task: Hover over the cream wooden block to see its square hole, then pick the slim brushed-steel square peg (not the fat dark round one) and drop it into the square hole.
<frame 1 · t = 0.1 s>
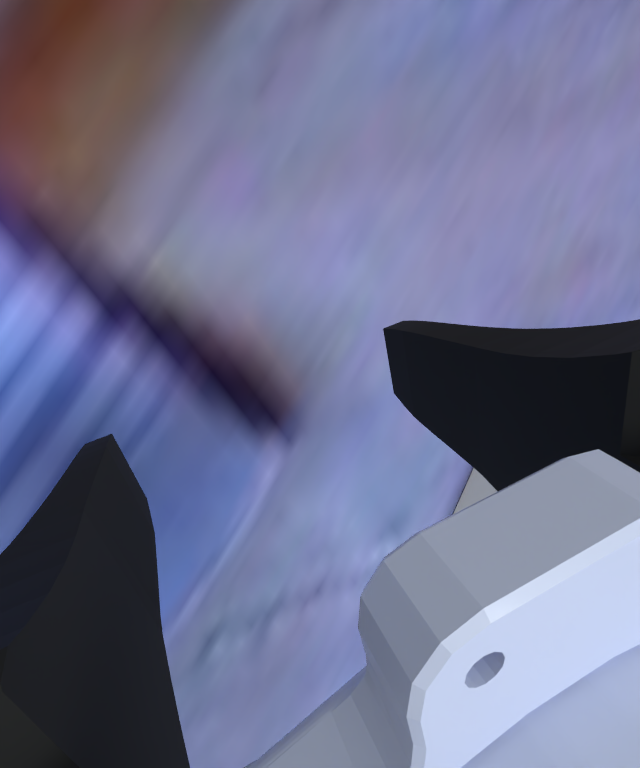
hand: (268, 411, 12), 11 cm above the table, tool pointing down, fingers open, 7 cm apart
cream socket block: (573, 517, 33), on the table
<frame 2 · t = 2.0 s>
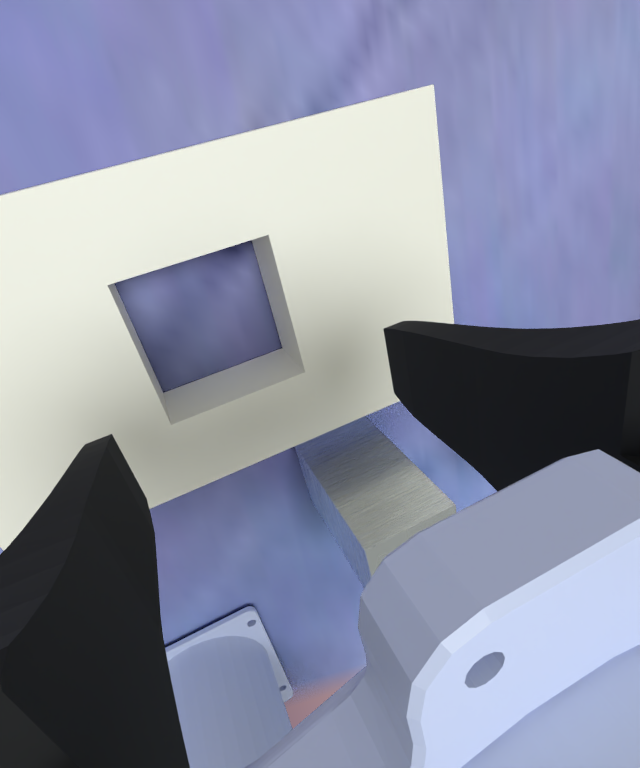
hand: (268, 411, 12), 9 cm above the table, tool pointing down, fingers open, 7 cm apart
square steel peg: (336, 457, 26), on the table
cream socket block: (203, 312, 20), on the table
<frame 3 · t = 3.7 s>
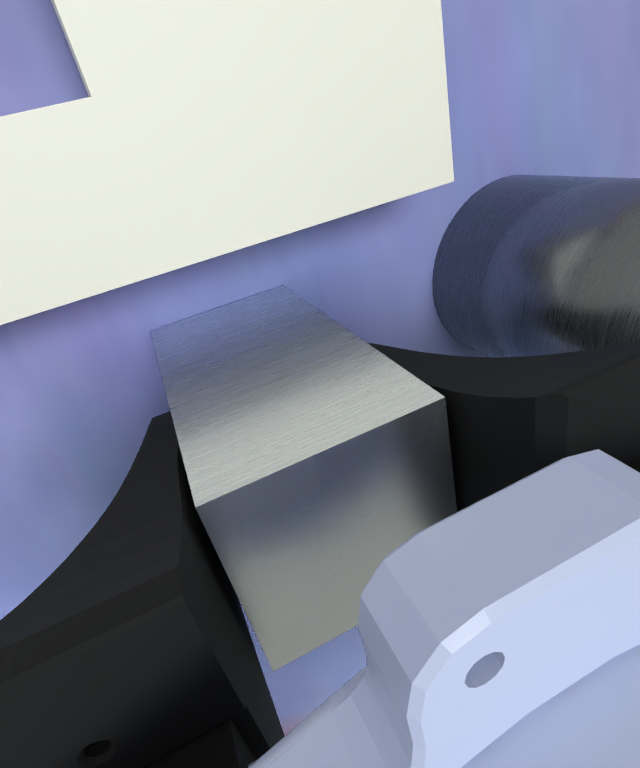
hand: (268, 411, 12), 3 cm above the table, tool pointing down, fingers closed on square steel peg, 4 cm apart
round dark peg: (504, 267, 17), on the table
square steel peg: (239, 367, 15), on the table, touching gripper
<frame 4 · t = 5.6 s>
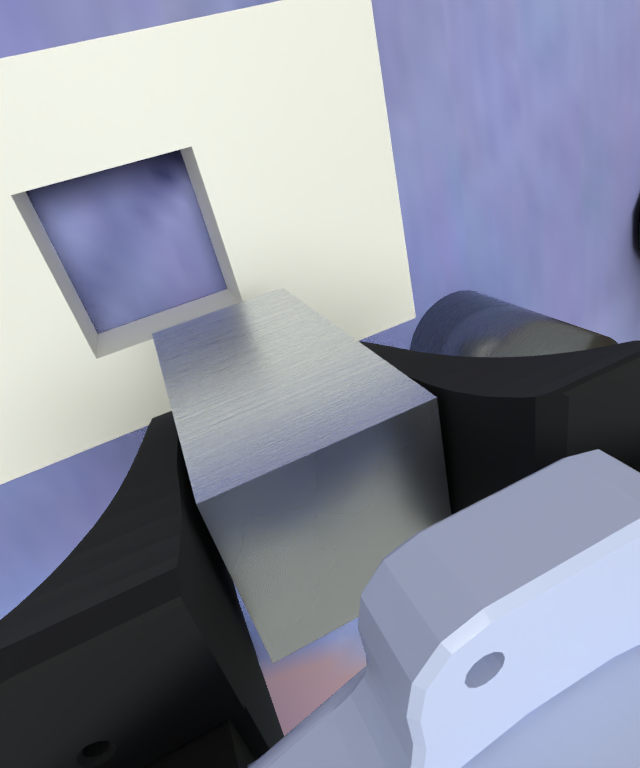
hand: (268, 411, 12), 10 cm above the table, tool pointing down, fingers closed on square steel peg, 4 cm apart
round dark peg: (456, 343, 27), on the table
square steel peg: (240, 368, 15), point 7 cm above the table, touching gripper
cream socket block: (137, 245, 19), on the table
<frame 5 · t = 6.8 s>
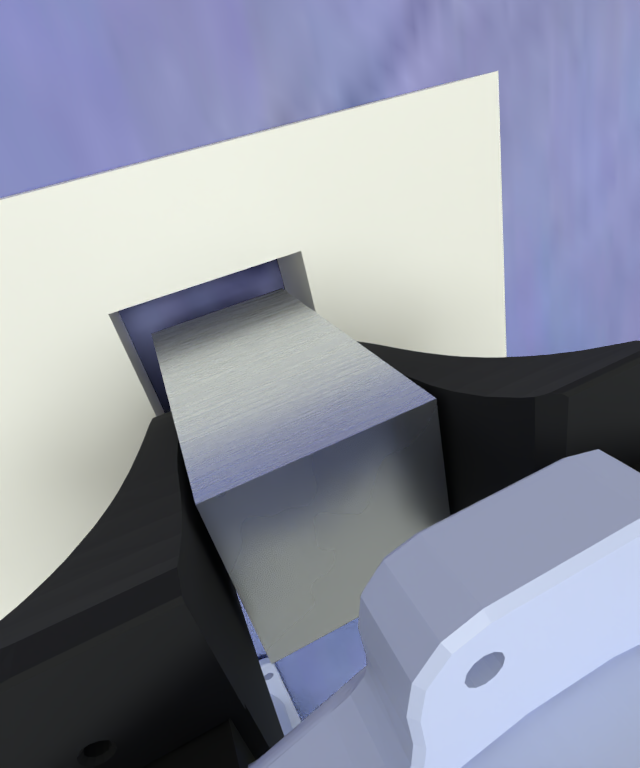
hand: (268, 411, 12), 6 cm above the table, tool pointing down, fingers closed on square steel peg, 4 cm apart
square steel peg: (239, 369, 15), point 3 cm above the table, touching gripper
cream socket block: (219, 337, 17), on the table
when the fingers open (4 cm above the table, at t = 7.7 s): square steel peg stays where it is, resting in cream socket block.
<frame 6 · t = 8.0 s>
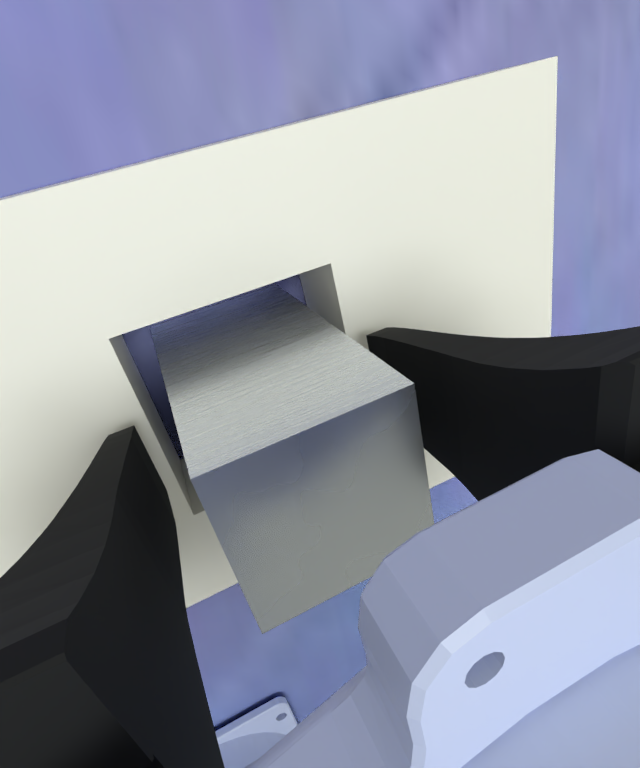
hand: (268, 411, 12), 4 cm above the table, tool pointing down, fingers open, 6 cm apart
square steel peg: (234, 362, 15), resting in cream socket block
cream socket block: (233, 357, 15), on the table
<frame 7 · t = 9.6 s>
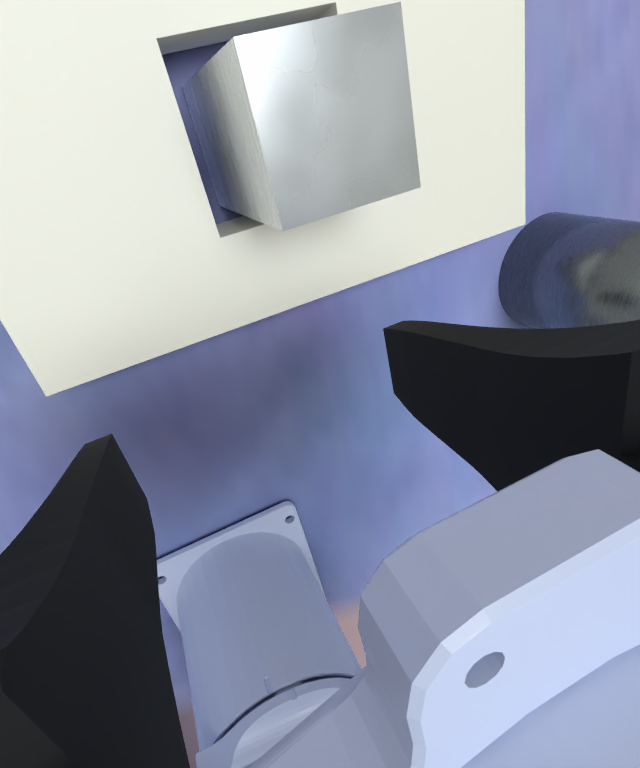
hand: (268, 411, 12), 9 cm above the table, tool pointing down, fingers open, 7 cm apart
round dark peg: (543, 270, 26), on the table
square steel peg: (252, 135, 18), resting in cream socket block
cream socket block: (251, 130, 18), on the table
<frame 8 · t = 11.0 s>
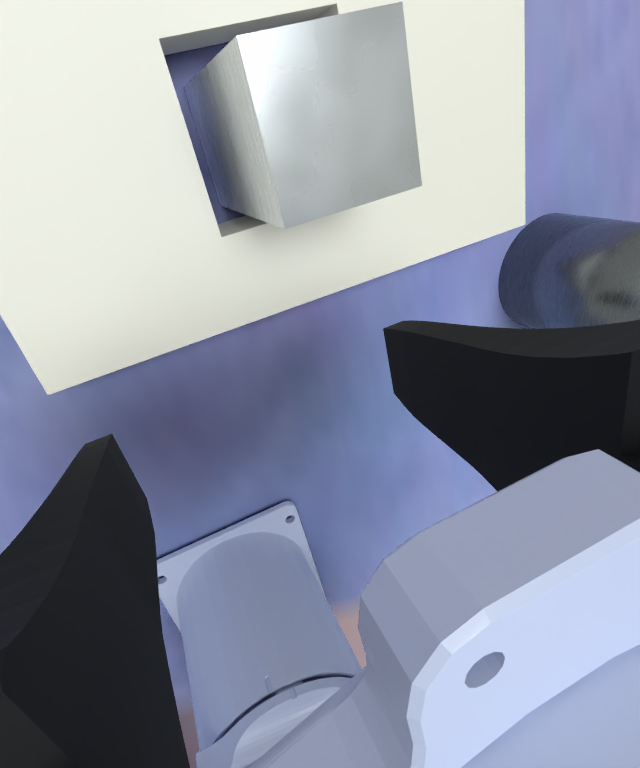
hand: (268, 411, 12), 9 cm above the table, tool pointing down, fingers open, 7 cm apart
round dark peg: (543, 271, 26), on the table
square steel peg: (253, 136, 18), resting in cream socket block
cream socket block: (252, 130, 18), on the table
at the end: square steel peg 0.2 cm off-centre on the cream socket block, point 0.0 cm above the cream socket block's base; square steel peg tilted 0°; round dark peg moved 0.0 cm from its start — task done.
